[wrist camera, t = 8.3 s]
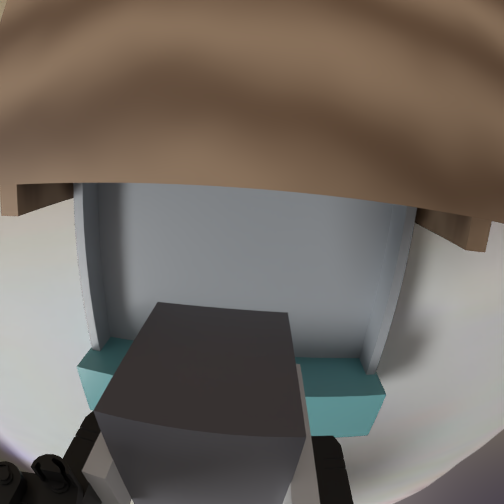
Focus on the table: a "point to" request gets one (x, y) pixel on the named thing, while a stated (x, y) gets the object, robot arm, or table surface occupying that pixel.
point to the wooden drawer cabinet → (260, 101)
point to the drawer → (248, 278)
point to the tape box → (206, 408)
